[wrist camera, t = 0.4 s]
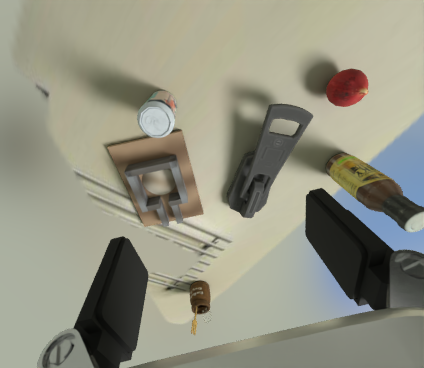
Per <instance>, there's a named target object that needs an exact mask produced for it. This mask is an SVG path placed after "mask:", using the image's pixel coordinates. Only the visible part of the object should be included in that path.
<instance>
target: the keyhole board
mask: <svg viewBox="0 0 424 368" xmlns="http://www.w3.org/2000/svg"><path fill="white" fill-rule="evenodd" d="M107 148H108V150H109V152H110V154H111V156H112V159H113V161H114V163H115V165H116V167H117V169H118V171H119V173H120V176H121V178H122V180H123V182H124V184H125V186H126V188H127V190H128V192H129V195H130V197H131V199H132V201H133V203H134V205H135V207H136V209H137V212H138V214H139V216H140V218H141V220H142V222H143V224H144V226H145V227H146V226H151V225H155V224H160V223H162V224H163V227H165V226H169V221H174V220H176V221H177V224H178V223H183V218H188V217H192V216H197V215H202V214H203V209H202V205H201V202H200V198H199V194H198V190H197V186H196V183H195V179H194V175H193V171H192V167H191V164H190V160H189V156H188V152H187V148H186V145H185V141H184V137H183V133H182V130H179V131H174V132H171V133H170V134H168V135H167V136H165V137H162V138H153V137H146V138H142V139H137V140H133V141H128V142H123V143H119V144H114V145H109V146H108V147H107Z"/></svg>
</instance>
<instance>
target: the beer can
mask: <svg viewBox="0 0 424 368" xmlns="http://www.w3.org/2000/svg"><path fill="white" fill-rule="evenodd" d="M176 109H177V103H176V100H175V98H174V96H173V95H172V94H170V93H169V92H167V91H161V90H160V91H156V92H155V93H153V94H152V95H151V97H150V98H149V99H148V100H147V101H146V102H145V104H144V105H143V106H142V107H141V108H140V109H139V112H138V115H137V120H138V124H139V126H140V128H141V130H142V131H143V132H144V133H145V134H147V135H148V136H150V137H153V138H162V137H165V136H167V135H168V134H170V133H171V131H172V130H173V127H174V123H175V115H176Z"/></svg>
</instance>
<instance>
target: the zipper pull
mask: <svg viewBox="0 0 424 368" xmlns="http://www.w3.org/2000/svg"><path fill="white" fill-rule="evenodd" d="M280 118H281V119H286V120H291V121H295V122H297V123H299V124H300V125H299V127H298V129H297V131H296V133H295V134H294V135H292V136H289V135H284V134H279V133H274V132H269V127H270V125H271V122H272V120H273V119H280ZM312 118H313V115H312V114H311V113H309V112H308V111H306V110H305V109H303V108H300V107H297V106H293V105H288V104H271V105H270V106H269V108H268V111H267V114H266V117H265V120H264V123H263V127H262V130H261V134H260V137H259V140H258V143H257V146H256V150H255V151H253V152H250V153H247V154H245V155H244V157H243V159H242V161H241V163H240V166H239V168H238V170H237V173H236V175H235V177H234V180H233V182H232V184H231V186H230V189H229V191H228V193H227V196H228V202H229V206H230V208H231V209H233V210H235V211H237V212H239V213H240V214H241V215H242V217H246V218H252V217H253V216H254V214H255V212H258V211H260V209H261V208H262V207H263V206H264V205H265V204H266V202H267V198H268V194H269V191H270V187H271V185H272V184H273V182H274V180H275V178H276V176H277V174H278V173H279V171H280V170H281V168H282V166H283V165H284V163H285V161H286V160H287V158H288V157H289V155H290V153H291V152H292V150H293V148H294V147H295V145H296V144H297V142H298V140H299V139H300V137H301V136H302V134H303V132H304V131H305V129H306V128H307V126H308V124H309V123H310V121H311V119H312Z"/></svg>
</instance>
